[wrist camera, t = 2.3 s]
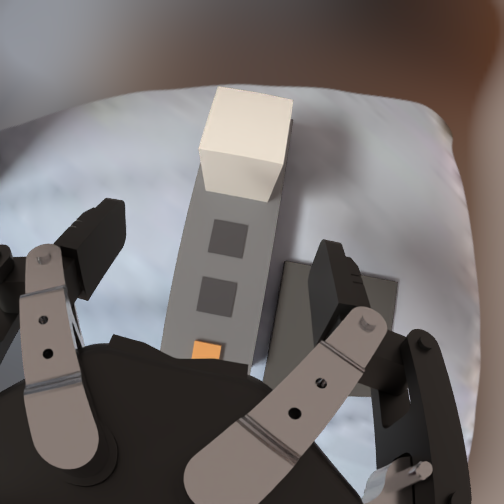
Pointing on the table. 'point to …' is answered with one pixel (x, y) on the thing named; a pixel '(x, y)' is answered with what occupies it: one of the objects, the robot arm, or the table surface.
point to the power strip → (221, 274)
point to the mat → (300, 325)
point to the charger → (244, 143)
